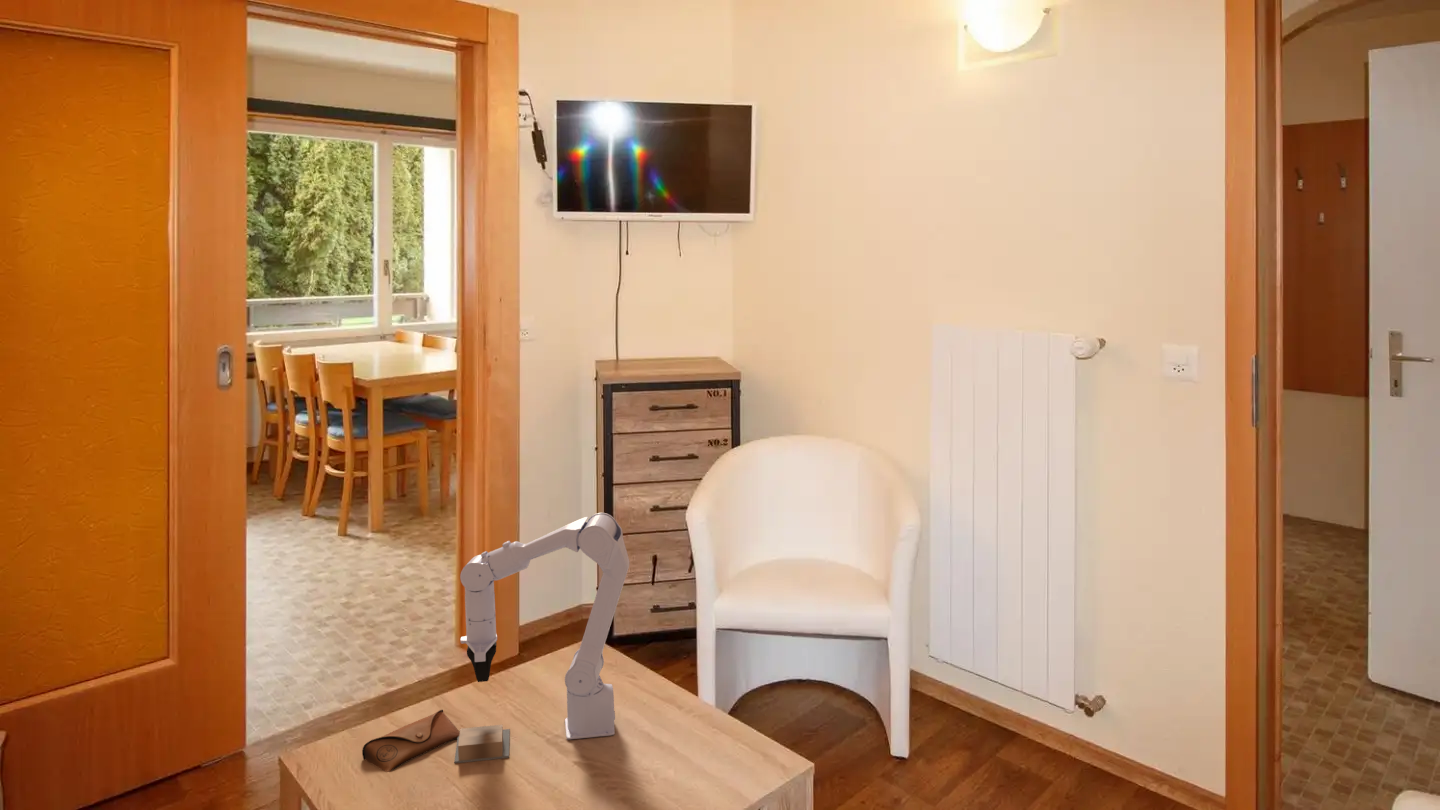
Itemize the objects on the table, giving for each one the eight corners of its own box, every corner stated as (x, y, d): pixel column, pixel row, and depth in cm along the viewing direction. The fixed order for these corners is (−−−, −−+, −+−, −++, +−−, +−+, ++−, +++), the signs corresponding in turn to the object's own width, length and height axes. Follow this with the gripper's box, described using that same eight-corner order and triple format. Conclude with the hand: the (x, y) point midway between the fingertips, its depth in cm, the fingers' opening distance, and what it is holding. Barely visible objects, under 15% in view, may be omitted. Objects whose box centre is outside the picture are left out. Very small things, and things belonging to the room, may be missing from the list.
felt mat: (509, 730, 183) (509, 729, 183) (509, 757, 174) (508, 755, 174) (458, 735, 181) (458, 733, 181) (454, 763, 172) (454, 761, 171)
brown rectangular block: (502, 724, 179) (501, 741, 173) (503, 738, 180) (502, 756, 173) (460, 728, 177) (458, 746, 171) (460, 742, 178) (458, 760, 172)
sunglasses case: (387, 773, 168) (375, 738, 169) (369, 780, 172) (358, 745, 173) (468, 734, 182) (456, 702, 183) (450, 740, 186) (439, 709, 187)
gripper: (462, 603, 187) (464, 665, 190) (457, 632, 173) (459, 699, 176) (497, 601, 189) (499, 662, 191) (495, 629, 175) (497, 695, 177)
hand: (483, 680), depth 183 cm, fingers closed
